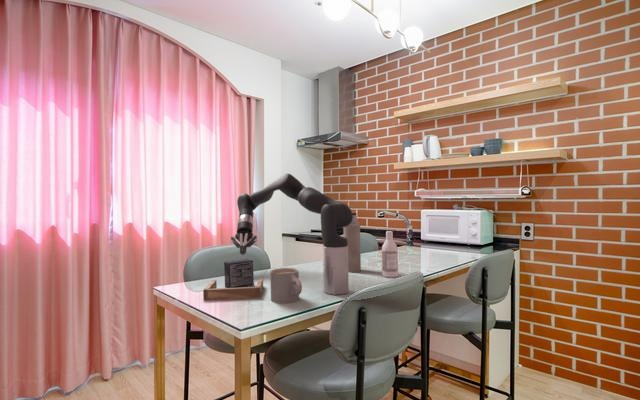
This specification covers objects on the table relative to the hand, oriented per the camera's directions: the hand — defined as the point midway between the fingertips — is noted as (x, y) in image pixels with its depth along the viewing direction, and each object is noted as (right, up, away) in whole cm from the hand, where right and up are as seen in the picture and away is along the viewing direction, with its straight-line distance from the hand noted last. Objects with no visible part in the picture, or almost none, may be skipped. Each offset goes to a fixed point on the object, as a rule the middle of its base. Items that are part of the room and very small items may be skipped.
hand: (242, 253), depth 162 cm
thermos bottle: (+52, -10, +8) cm, 53 cm away
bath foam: (+67, -9, -5) cm, 68 cm away
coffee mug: (+24, -10, -39) cm, 47 cm away
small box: (+2, -11, -17) cm, 20 cm away
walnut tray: (+3, -11, -27) cm, 30 cm away
